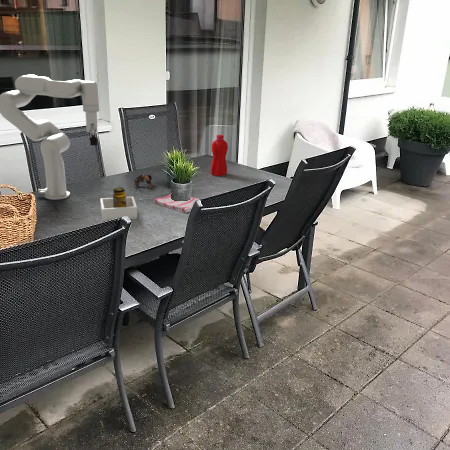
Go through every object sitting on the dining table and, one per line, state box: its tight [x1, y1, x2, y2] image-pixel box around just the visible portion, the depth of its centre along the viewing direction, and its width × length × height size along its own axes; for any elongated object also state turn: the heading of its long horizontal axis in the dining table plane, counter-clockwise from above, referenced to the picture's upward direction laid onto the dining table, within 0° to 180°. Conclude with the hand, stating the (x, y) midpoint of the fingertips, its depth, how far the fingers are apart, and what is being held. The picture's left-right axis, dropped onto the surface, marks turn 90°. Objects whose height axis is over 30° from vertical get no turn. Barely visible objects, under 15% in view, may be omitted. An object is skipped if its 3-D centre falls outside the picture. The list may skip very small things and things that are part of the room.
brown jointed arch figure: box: [133, 173, 153, 190], centre depth 269 cm, size 12×10×8 cm
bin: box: [99, 196, 138, 222], centre depth 228 cm, size 16×15×6 cm
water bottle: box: [210, 134, 229, 177], centre depth 291 cm, size 9×11×25 cm
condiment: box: [112, 186, 127, 208], centre depth 227 cm, size 7×8×12 cm
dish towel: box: [154, 193, 200, 214], centre depth 246 cm, size 17×23×4 cm
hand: (93, 142), depth 234 cm, fingers open, 9 cm apart
